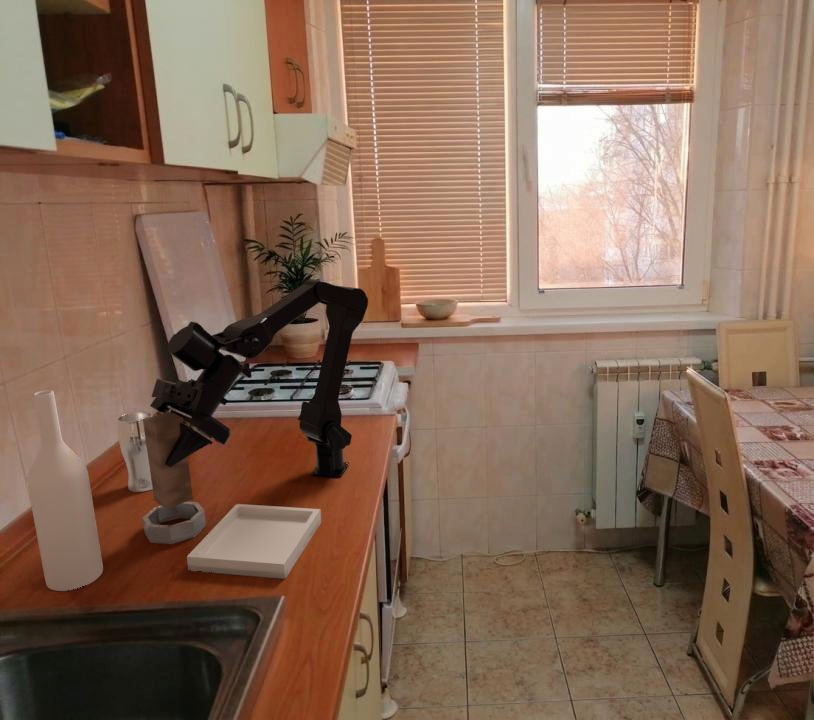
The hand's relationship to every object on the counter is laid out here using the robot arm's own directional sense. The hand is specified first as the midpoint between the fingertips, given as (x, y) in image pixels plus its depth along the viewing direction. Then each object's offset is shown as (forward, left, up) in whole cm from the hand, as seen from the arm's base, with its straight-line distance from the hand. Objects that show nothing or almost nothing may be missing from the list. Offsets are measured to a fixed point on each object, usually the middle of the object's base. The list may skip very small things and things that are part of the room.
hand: (160, 461), depth 111 cm
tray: (+2, +17, -13) cm, 22 cm away
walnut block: (-1, +1, -8) cm, 8 cm away
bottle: (+15, -8, -14) cm, 21 cm away
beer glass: (-17, -16, -14) cm, 27 cm away
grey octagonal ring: (-1, 0, -13) cm, 14 cm away
